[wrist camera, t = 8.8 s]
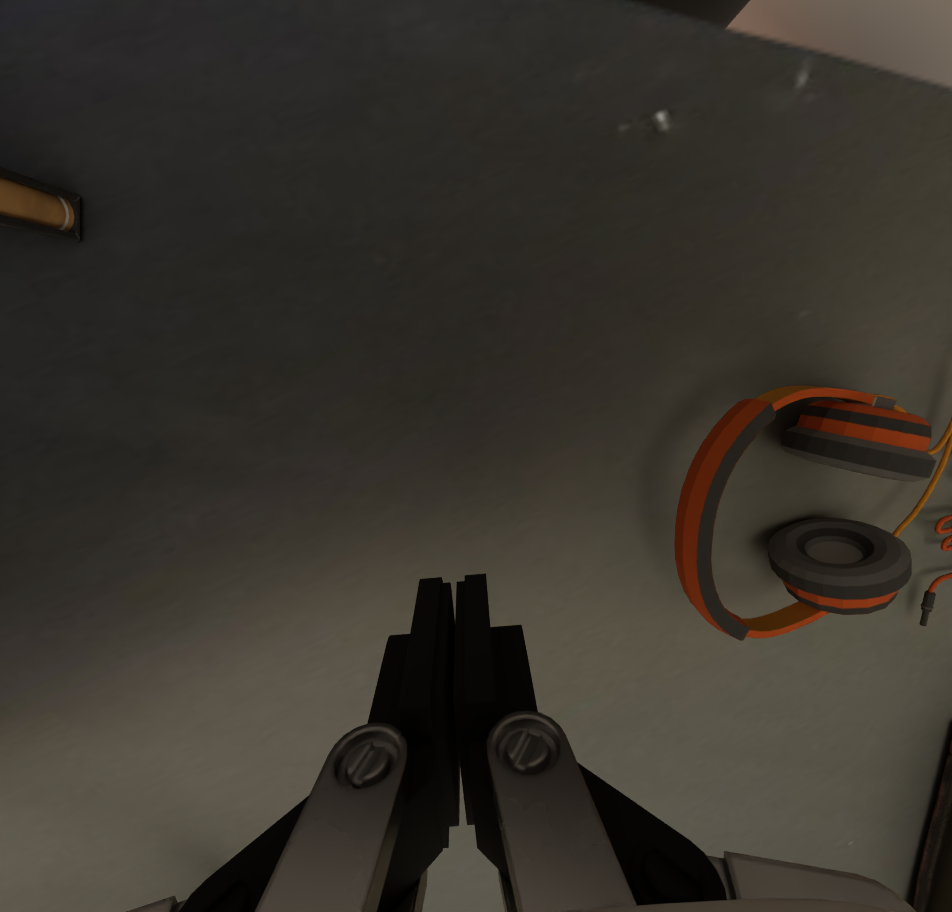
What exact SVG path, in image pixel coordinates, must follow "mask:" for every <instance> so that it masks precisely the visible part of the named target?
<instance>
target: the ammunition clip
mask: <svg viewBox="0 0 952 912" xmlns="http://www.w3.org/2000/svg"><path fill="white" fill-rule="evenodd" d="M0 225H1V226H6V227H11V228H15V229H20V230H25V231H29V232H34V233H39V234H43V235H48V236H53V237H57V238H62V239H67V240H71V241H76V242H78V241H79V240H80V197H79V196H78V195H77V194H75V193H72V192H69V191H66V190H64V189H61V188H58V187H55V186H52V185H50V184H47V183H44V182H41V181H38V180H36V179H33V178H30V177H27V176H24V175H22V174H19V173H16V172H13V171H10V170H7V169H5V168H2V167H0Z"/></svg>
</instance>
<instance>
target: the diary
mask: <svg viewBox="0 0 952 912" xmlns="http://www.w3.org/2000/svg"><path fill="white" fill-rule="evenodd" d="M949 750H950V752H951V754H952V741H951V745H950V749H949ZM913 909H914V910H915V911H916V912H952V755H948V757H947V761H946V764H945V768H944V772H943V776H942V780H941V784H940V788H939V792H938V796H937V800H936V804H935V808H934V811H933V815H932V819H931V823H930V827H929V831H928V835H927V839H926V843H925V847H924V851H923V854H922V858H921V862H920V866H919V870H918V876H917V882H916V889H915V895H914V902H913Z"/></svg>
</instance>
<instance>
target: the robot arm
mask: <svg viewBox="0 0 952 912" xmlns="http://www.w3.org/2000/svg"><path fill="white" fill-rule="evenodd" d="M460 768H461V777H462V785H463V794H464V802H465V811H466V819H467V825H475V832H476V841H477V848H478V849H479V850H480V851H481V852H482V853H483V854H484V855H485V856H486V857H487V858H488V859H489V860H490V861H491V862H492V863H493V864H494V865H495V866H496V867H497V868H498V875H499V883H500V888H501V893H502V898H503V904H504V909H505V912H916V911H915V910H914V909H913V908H912V907H911V906H910V905H909V904H908V903H907V902H906V901H905V900H904V899H903V898H901V897H900V896H899V895H898V894H897V893H895V892H893V891H892V890H890V889H889V888H887V887H885V886H884V885H882V884H881V883H879V882H877V881H875V880H872V879H869V878H866V877H864V876H861V875H858V874H853V873H848V872H842V871H836V870H830V869H825V868H819V867H813V866H807V865H802V864H796V863H790V862H784V861H779V860H773V859H767V858H761V857H756V856H750V855H744V854H739V853H733V852H727V851H724V859H723V858H717V857H712V856H706V855H705V853H704V852H703V851H701V850H700V849H699V848H698V847H697V846H696V845H695V844H693V843H692V842H691V841H690V840H689V839H687V838H686V837H684V836H683V835H681V834H680V833H678V832H677V831H676V830H674V829H673V828H671V827H670V826H668V825H667V824H665V823H664V822H663V821H661V820H660V819H658V818H657V817H655V816H654V815H652V814H651V813H650V812H648V811H647V810H645V809H644V808H642V807H641V806H639V805H638V804H637V803H635V802H634V801H632V800H631V799H629V798H628V797H626V796H625V795H624V794H622V793H621V792H619V791H618V790H616V789H615V788H613V787H612V786H611V785H609V784H608V783H606V782H605V781H603V780H602V779H600V778H599V777H598V776H596V775H595V774H593V773H592V772H590V771H589V770H587V769H586V768H585V767H583V766H582V765H580V764H579V763H577V761H576V759H575V756H574V754H573V751H572V749H571V747H570V744H569V742H568V739H567V737H566V735H565V733H564V732H563V730H562V728H561V727H560V725H558V724H557V723H556V722H555V721H554V720H553V719H552V718H550V717H548V716H546V715H544V714H542V713H539V712H538V711H537V705H536V700H535V694H534V689H533V683H532V678H531V673H530V667H529V662H528V656H527V651H526V645H525V640H524V635H523V629H522V626H521V625H512V626H500V627H490V618H489V605H488V593H487V581H486V574H476V575H465V581H462V582H457V589H456V621H455V618H454V609H453V600H452V591H451V583H450V582H449V583H443V581H442V577H439V578H427V579H420V581H419V586H418V592H417V598H416V604H415V610H414V615H413V621H412V627H411V633H410V634H402V635H390V636H389V638H388V641H387V644H386V649H385V653H384V657H383V661H382V665H381V669H380V674H379V678H378V682H377V686H376V690H375V694H374V699H373V703H372V707H371V711H370V715H369V719H368V724H365V725H363V726H360V727H357V728H355V729H353V730H352V731H350V732H348V733H347V734H345V735H344V736H343V737H342V738H341V739H340V740H339V741H338V742H337V743H336V744H335V745H334V747H333V748H332V750H331V752H330V753H329V755H328V757H327V759H326V761H325V763H324V765H323V767H322V770H321V772H320V774H319V776H318V778H317V780H316V782H315V784H314V787H313V789H312V791H311V793H310V795H309V796H308V797H306V798H305V799H304V800H303V801H302V802H300V803H299V804H298V805H297V806H295V807H294V808H293V809H292V810H291V811H289V812H288V813H287V814H286V815H284V816H283V817H282V818H281V819H280V820H278V821H277V822H276V823H275V824H273V825H272V826H271V827H270V828H269V829H267V830H266V831H265V832H264V833H262V834H261V835H260V836H259V837H258V838H256V839H255V840H254V841H253V842H252V843H250V844H249V845H248V846H247V847H245V848H244V849H243V850H242V851H241V852H239V853H238V854H237V855H236V856H234V857H233V858H232V859H231V860H230V861H228V862H227V863H226V864H225V865H223V866H222V867H221V868H220V869H219V870H217V871H216V872H215V873H214V874H212V875H211V876H210V877H209V878H208V879H206V880H205V881H204V882H203V883H202V884H201V885H200V886H199V887H198V888H197V889H196V890H195V891H194V892H193V893H192V894H191V895H190V896H189V898H188V899H187V900H185V901H182V902H179V903H177V900H176V898H175V896H172V897H169V898H166V899H163V900H160V901H157V902H154V903H151V904H148V905H145V906H142V907H139V908H136V909H133V910H130V911H127V912H422V908H423V902H424V897H425V892H426V887H427V873H428V872H427V868H428V867H429V866H430V865H431V863H432V862H433V861H434V860H435V859H436V858H437V857H438V855H439V854H440V853H441V852H442V851H443V848H449V827H451V826H459V802H460Z"/></svg>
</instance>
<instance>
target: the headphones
mask: <svg viewBox="0 0 952 912" xmlns="http://www.w3.org/2000/svg"><path fill="white" fill-rule="evenodd" d="M825 396H827V397H835V398H838V399H841V400H844V401H846V402H838V401H816V402H814V403H811V404H808V405H807V406H806V407H805V409H804V410H803V412H802V413H801V415H800V418H799V421H798V424H797V426H794V427H791V428H789V429H786V430H785V432H784V435H783V438H782V441H781V444H780V445H781V446H782V447H783V448H784V450H785V451H786V452H788V453H791V454H793V455H795V456H798V457H800V458H803V459H807V460H810V461H814V462H817V463H821V464H825V465H829V466H833V467H837V468H841V469H846V470H850V471H854V472H859V473H863V474H868V475H872V476H877V477H882V478H888V479H893V480H901V481H914V482H915V481H919V480H923V479H927V478H930V475H931V473H932V470H933V468H934V465H935V463H936V460H935V459H934V458H933V457H932V456H931V455H932V454H935V453H936V452H938V451H939V450H940V449H941V448H942V447H943V446H944V444H945V443H946V441H947V440H948V442H947V445H946V448H945V451H944V453H943V456H942V458H941V461H940V463H939V465H938V468H937V470H936V472H935V474H934V476H933V478H932V480H931V482H930V484H929V485H928V487H927V489H926V490H925V492H924V494H923V496H922V497H921V499H920V500H919V502H918V504H917V505H916V507H915V508H914V509H913V511H912V512H911V513H910V515H909V516H908V517H907V518H906V519H905V520H904V521H903V522H902V523H901V524H900V525H899V526H898V527H897V528H896V530H895V531H894V532H893V534H891V533H889V532H887V531H885V530H882V529H880V528H878V527H875V526H873V525H869V524H866V523H862V522H859V521H854V520H847V519H837V518H821V519H810V520H805V521H800V522H797V523H794V524H792V525H789V526H786V527H784V528H782V529H781V530H779V531H778V532H776V533H775V534H774V535H773V536H772V537H771V539H770V540H769V543H768V548H767V549H768V557H769V562H770V565H771V568H772V570H773V571H774V572H775V573H776V575H777V576H778V577H779V578H781V579H782V580H783V582H784V585H785V587H786V589H787V591H788V592H789V593H790V594H791V595H792V596H794V597H795V598H796V599H797V600H798V602H796V603H794V604H792V605H790V606H788V607H785V608H783V609H781V610H778V611H776V612H773V613H770V614H767V615H764V616H761V617H757V618H752V619H741V618H740V617H738V616H737V615H735V614H733V613H731V612H729V611H728V610H727V609H726V608H724V606H723V604H722V603H721V601H720V599H719V597H718V594H717V592H716V588H715V584H714V580H713V574H712V564H711V551H712V538H713V528H714V523H715V517H716V512H717V508H718V505H719V502H720V499H721V495H722V492H723V490H724V487H725V485H726V483H727V480H728V478H729V476H730V474H731V472H732V470H733V468H734V467H735V465H736V463H737V461H738V459H739V458H740V456H741V455H742V454H743V452H744V451H745V450H746V448H747V447H748V445H749V444H750V443H751V442H752V441H753V440H754V438H755V437H756V436H757V435H758V434H759V433H760V432H761V431H762V430H763V429H764V428H765V427H766V426H767V425H768V424H769V423H770V422H772V421H773V419H774V418H775V414H776V413H775V411H776V410H778V409H780V408H781V407H783V406H785V405H787V404H789V403H791V402H794V401H797V400H799V399H803V398H809V397H825ZM896 401H897V400H896V399H895V398H891V397H887V396H881V395H875V394H868V393H862V392H857V391H852V390H846V389H837V388H827V387H816V386H787V387H781V388H777V389H774V390H771V391H769V392H766V393H764V394H762V395H760V396H758V397H757V398H755V399H744V400H742V401H740V402H738V403H737V404H736V405H735V406H734V407H732V408H731V409H730V410H729V411H728V412H727V413H726V414H725V415H724V416H723V417H722V418H721V420H720V421H719V422H718V423H717V424H716V425H715V426H714V427H713V429H712V430H711V432H710V433H709V434H708V436H707V437H706V439H705V440H704V441H703V443H702V445H701V446H700V448H699V450H698V452H697V453H696V455H695V457H694V459H693V461H692V463H691V466H690V468H689V470H688V473H687V476H686V479H685V482H684V484H683V487H682V491H681V495H680V499H679V504H678V508H677V516H676V525H675V560H676V565H677V570H678V575H679V579H680V581H681V584H682V587H683V590H684V592H685V593H686V595H687V597H688V598H689V600H690V602H691V603H692V604H693V605H694V607H695V608H696V609H697V610H698V611H699V613H700V614H701V615H702V616H703V617H704V618H705V619H706V621H707V622H709V623H710V624H711V625H713V626H714V627H715V628H717V629H718V630H720V631H722V632H724V633H726V634H728V635H730V636H732V637H734V638H736V639H738V640H740V641H743V640H744V638H745V637H752V638H768V637H774V636H777V635H781V634H784V633H787V632H790V631H792V630H795V629H797V628H799V627H802V626H804V625H806V624H808V623H811V622H813V621H815V620H817V619H819V618H821V617H823V616H824V615H826V614H828V613H836V614H841V615H856V614H869V613H872V612H875V611H878V610H881V609H884V608H886V607H887V606H888V605H889V604H890V603H891V602H892V601H893V600H894V599H895V597H896V595H897V593H898V590H899V589H900V588H902V587H903V586H904V585H905V584H907V583H908V580H909V578H910V576H911V554H910V550H909V549H908V548H907V546H906V545H905V544H904V542H903V541H901V540H900V539H899V538H897V537H898V535H899V534H900V532H901V531H902V530H903V529H904V528H905V527H906V526H907V525H908V524H909V523H910V522H911V521H912V520H913V519H914V517H915V516H916V515H917V514H918V512H919V511H920V510H921V508H922V507H923V505H924V503H925V502H926V500H927V499H928V497H929V495H930V494H931V492H932V490H933V489H934V487H935V485H936V483H937V481H938V479H939V477H940V475H941V473H942V471H943V469H944V467H945V465H946V462H947V460H948V457H949V455H950V452H951V449H952V418H951V421H950V423H949V425H948V427H947V429H946V431H945V433H944V435H943V437H942V438H941V440H940V441H939V443H938V444H937V445H936V446H935V447H934V448H932V449H931V450H929V451H926V449H927V447H928V444H929V442H930V439H931V426H930V425H929V424H928V423H927V422H926V421H925V420H924V419H923V418H921V417H918V416H915V415H912V414H909V413H907V412H906V411H905V410H904V409H903V408H901V407H899V406H897V405H895V403H896ZM948 438H949V439H948ZM951 519H952V514H951V515H948V516H945V517H943V518H941V519H940V520H939V521H938V522H937V523H936V526H935V531H936V532H937V533H938V534H944V533H948V532H952V527H949V528H945V529H941V526H942V525H943V523H945V522H946V521H949V520H951ZM950 541H952V535H951V536H949V537H947V538H945V539H944V540H943V541H942V543H941V549H942V550H943V551H949V550H952V545H949V546H947V544H948V543H949V542H950ZM949 578H952V573H949V574H946V575H943V576H940V577H938V578H936V579H935V580H934V581H933V582H932V584H931V585H930V587H929V589H928V590H927V591H925V593H924V598H923V602H922V604H921V609H922V610H923V612H922V616H921V620H920V625H922V626H926V624H927V619H928V615H929V613H930V612H931V611H932V609H933V604H934V600H935V596H936V594H935V593H934V589H935V588H936V586H937V585H938V584H939V583H940V582H942V581H943V580H946V579H949Z"/></svg>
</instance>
